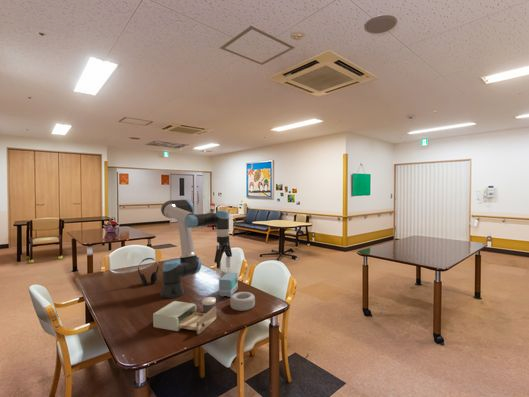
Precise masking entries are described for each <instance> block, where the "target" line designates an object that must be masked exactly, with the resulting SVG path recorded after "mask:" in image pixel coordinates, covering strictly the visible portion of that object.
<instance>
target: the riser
mask: <svg viewBox="0 0 529 397" xmlns="http://www.w3.org/2000/svg"><path fill="white" fill-rule="evenodd" d="M213 307H216V303H215V304H212V305H203V304H202V311H203V312H202V313H204V314H206V313H207V312H208V311H210V310H211V309H212V308H213Z"/></svg>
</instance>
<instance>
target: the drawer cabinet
mask: <svg viewBox="0 0 529 397" xmlns="http://www.w3.org/2000/svg"><path fill="white" fill-rule="evenodd" d="M197 308H198V307H197V305H196V303H193V302H184V301H177V300H174V301H172V302H170V303H168V304H167V305H165V306H164V307H162V308H160V309H159V310H157V311H155V312H154V313H153V314H152V319H153V320H152V322H153V328H157V329H164V330H168V331H175V332H178V331H180V330H181V329H182V328H179V322H180V321H182V320H183V319H184V318H186V317H187V316H188V315H190V312H197V311H198V310H197ZM197 313H198V312H197Z"/></svg>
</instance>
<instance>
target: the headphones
mask: <svg viewBox="0 0 529 397" xmlns="http://www.w3.org/2000/svg"><path fill="white" fill-rule="evenodd" d="M147 260H153V261H155V262H156V264H157V266H156V267H157V268H156V271H153V272H152V273H151V276H150V283H151V284H155V283H156V282H157V280H158V270H159V262H158V261H157V260H156V259H155V258H152V257H146V258H144V259H143V260H141V262H140V263H139V264H138V267H137V271H138V275H139V280H140V282H141V283H142V285H144V286H147V285H148V279H147V277H146V276H145V274H144V273H141V271H140V265H141V264H142V263H143V262H145V261H147Z"/></svg>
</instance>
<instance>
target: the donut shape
mask: <svg viewBox="0 0 529 397" xmlns="http://www.w3.org/2000/svg"><path fill="white" fill-rule="evenodd" d="M229 301H230V302H229V304H230V305H229V306H230V308H231V309H232V310H234V311H238V312H239V311H240V312H243V311H244V312H245V311H250V310H252V309H253V308H254V307H255V305H256V297H255V294H253V293H252V292H249V291H239V292H234V293H233V295H232V296H231V297H230V298H229Z"/></svg>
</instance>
